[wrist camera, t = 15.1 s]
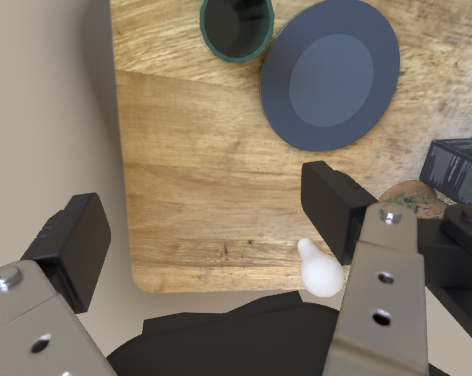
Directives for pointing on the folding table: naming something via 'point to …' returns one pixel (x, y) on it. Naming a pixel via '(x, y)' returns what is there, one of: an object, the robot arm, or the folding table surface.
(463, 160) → the small box
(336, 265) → the lightbulb
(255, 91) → the folding table surface
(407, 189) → the mug
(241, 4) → the cup
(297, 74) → the plate
